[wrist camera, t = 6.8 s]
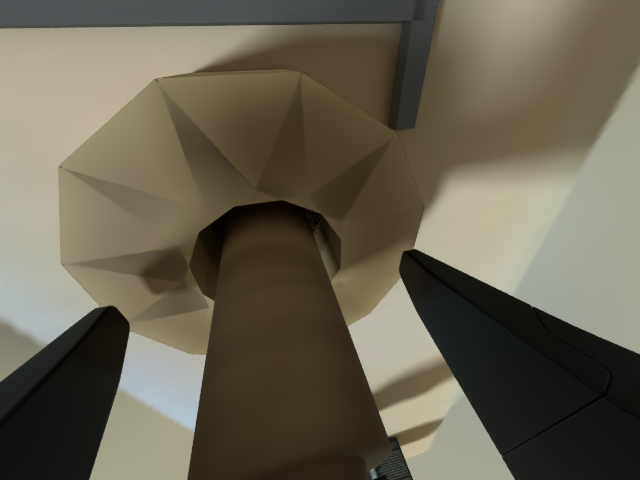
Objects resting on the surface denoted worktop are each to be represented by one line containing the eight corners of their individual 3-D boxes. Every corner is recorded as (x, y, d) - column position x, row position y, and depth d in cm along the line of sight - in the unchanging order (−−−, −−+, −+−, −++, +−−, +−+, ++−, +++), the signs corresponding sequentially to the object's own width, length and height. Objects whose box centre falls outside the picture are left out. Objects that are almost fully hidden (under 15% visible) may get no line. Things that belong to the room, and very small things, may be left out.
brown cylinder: (306, 239, 12) (407, 562, 4) (238, 250, 12) (212, 643, 4) (300, 176, 10) (475, 568, 2) (218, 186, 10) (72, 747, 2)
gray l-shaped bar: (406, 125, 10) (414, 128, 10) (-3, 162, 8) (-19, 168, 7) (430, -11, 8) (441, -16, 7) (-156, -19, 5) (-195, -27, 5)
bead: (367, 277, 15) (393, 324, 12) (184, 314, 13) (167, 378, 11) (394, 64, 9) (462, 64, 6) (40, 79, 7) (-102, 90, 4)
